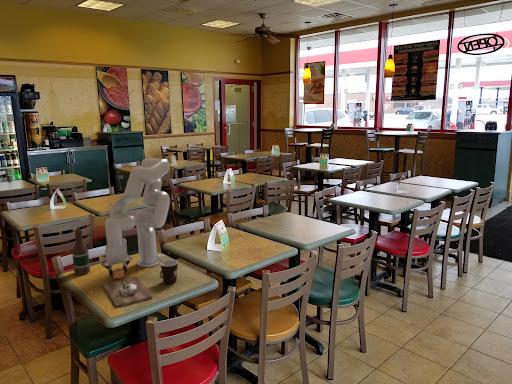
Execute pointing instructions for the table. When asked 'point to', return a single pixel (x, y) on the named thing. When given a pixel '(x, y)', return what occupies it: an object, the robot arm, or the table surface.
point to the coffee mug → (169, 271)
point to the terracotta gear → (118, 273)
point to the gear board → (124, 299)
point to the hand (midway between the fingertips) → (118, 274)
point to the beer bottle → (80, 255)
